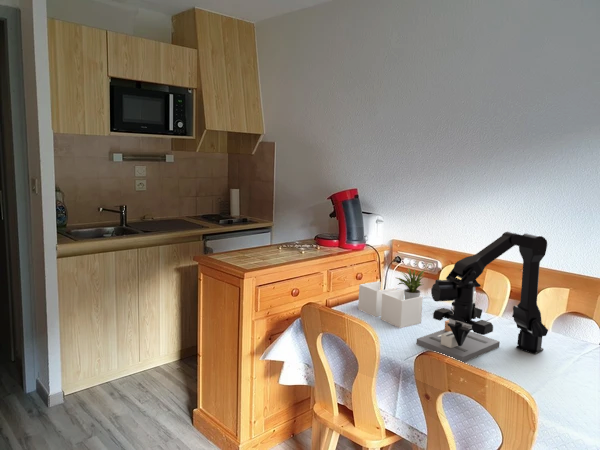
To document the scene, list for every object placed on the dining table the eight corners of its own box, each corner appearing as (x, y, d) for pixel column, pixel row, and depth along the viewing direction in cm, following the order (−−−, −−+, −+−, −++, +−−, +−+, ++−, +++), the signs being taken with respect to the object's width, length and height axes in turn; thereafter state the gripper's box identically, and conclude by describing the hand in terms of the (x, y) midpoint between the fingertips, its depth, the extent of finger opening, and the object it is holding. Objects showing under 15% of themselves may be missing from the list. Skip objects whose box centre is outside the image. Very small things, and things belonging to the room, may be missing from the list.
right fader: (462, 330, 168) (462, 321, 168) (454, 333, 165) (454, 323, 165) (452, 327, 171) (453, 317, 171) (444, 330, 168) (445, 320, 168)
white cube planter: (358, 309, 196) (359, 284, 195) (377, 305, 202) (379, 281, 201) (400, 328, 175) (402, 300, 174) (421, 323, 181) (422, 296, 180)
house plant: (409, 297, 215) (411, 262, 213) (435, 304, 205) (437, 268, 202) (389, 302, 206) (391, 266, 204) (415, 311, 195) (417, 273, 193)
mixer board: (499, 347, 160) (499, 341, 160) (462, 363, 147) (462, 356, 146) (453, 330, 174) (454, 325, 174) (416, 344, 161) (416, 338, 160)
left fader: (459, 344, 155) (460, 334, 155) (451, 348, 152) (451, 337, 152) (449, 340, 159) (450, 330, 158) (440, 344, 156) (441, 333, 155)
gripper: (504, 302, 148) (499, 349, 150) (452, 289, 162) (449, 331, 165) (485, 309, 141) (481, 358, 143) (433, 294, 156) (430, 338, 158)
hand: (460, 345), depth 152 cm, fingers closed
